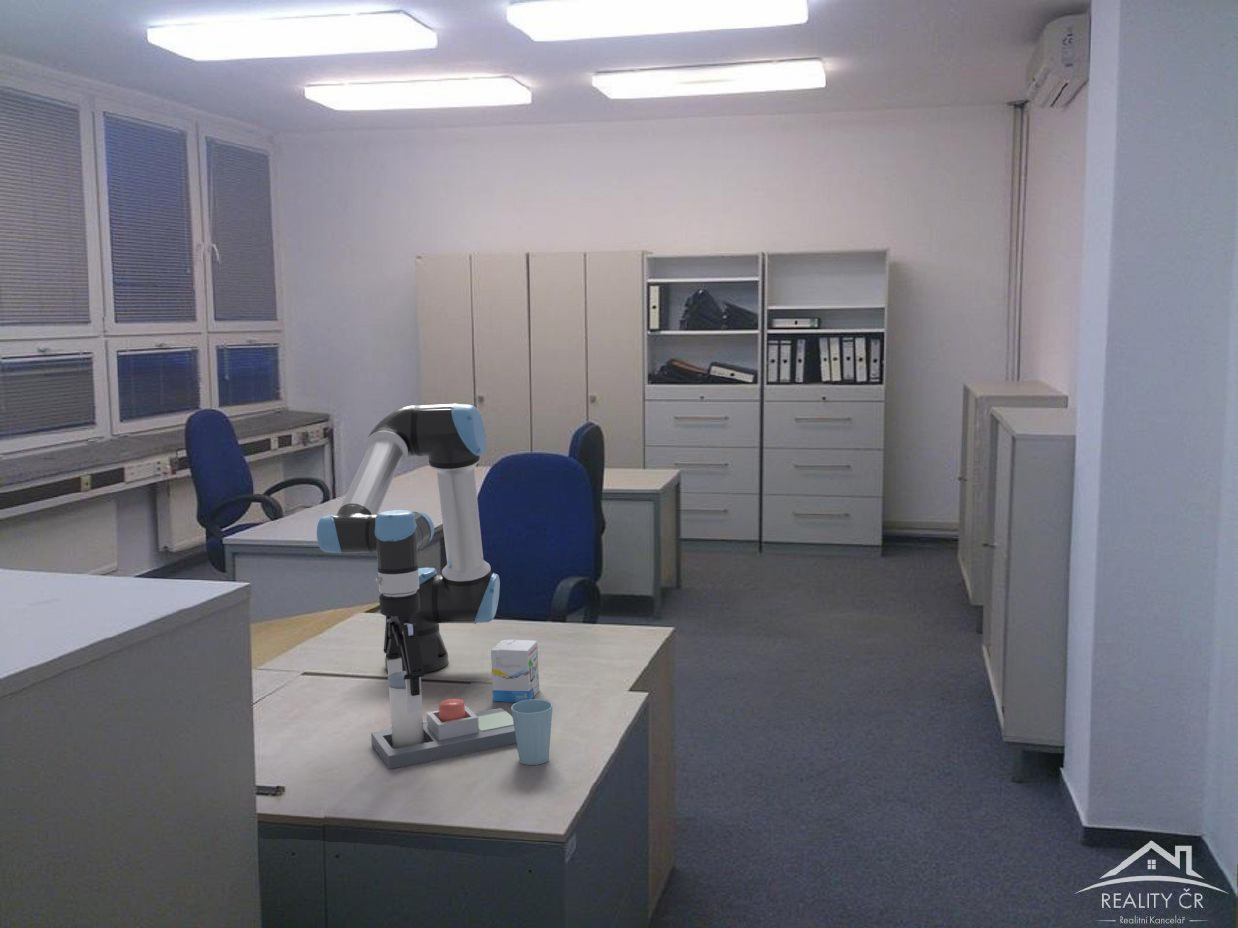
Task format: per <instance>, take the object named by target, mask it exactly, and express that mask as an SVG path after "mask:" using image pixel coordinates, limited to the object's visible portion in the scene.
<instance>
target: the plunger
mask: <svg viewBox="0 0 1238 928" xmlns="http://www.w3.org/2000/svg"><path fill="white" fill-rule="evenodd" d="M438 710H439V719H440V721H441V722H447V721H452V720H457V719H463V718H465V700H464V699H462V698H461V699H459V698H447V699H443V700H441V701H440V702H439V703H438Z"/></svg>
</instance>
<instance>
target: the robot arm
mask: <svg viewBox="0 0 1238 928" xmlns="http://www.w3.org/2000/svg"><path fill="white" fill-rule="evenodd" d="M486 435H487V433H486V429H485V424H484V420H483V418H482V415H481V413H480V411H479V410H478V408H477V407H476V406H474V405H472V404H464V403H463V404H462V403H449V404H448V403H447V404H446V403H445V404H443V403H442V404H425V405H417V404H416V405H415V404H413V405H411V404H410V405H407V406H402V407H400V408H398V409H396V410H394V411H393V412H391V413H389V414H388V415H386V416H385V417H383V419H381V420H380V421H379V422H378V423H377V424H376V425H375V426H374V427H373V429H372V430H371V432H370V433H369V434H368V437H367V439H366V441H365V444H364V445H365V446H364V449H365V454H364V456H363V458H362V461H361V463H360V465H359V467H358V469H357V470H356V471H357V472H356V474H355V475H354V477H353V480H352V482H351V484H350V486H349V488H348V489H347V492H346V494H345V496H344V498H343V500H342V503H341V505H340V507H339V509H338V511H337V513H336V514H330V515H323V516H321V517H320V518H319V520H318V522H317V527H316V540H317V541H316V542H317V544H318V547H319V549H320V550H321V551H322V552H324V553H329V554H330V553H333V554H361V553H362V554H364V553H376V561H377V564H376V565H377V575H378V576H377V577H376V578H375V583H377V584H378V590H379V593H381V594H380V595H379V597H378V598H379V601H378V602H379V613H380V614H381V615H383V616H385V625H384V626H385V631H384V643H383V653H384V654H385V657H384V667H385V670H386V671H387V677H388V676H389V675H390V674H393V673H396V672H400V671H406V674H407V675H404V678H403V679H404V680H405V681H406V699H407V712H408V713H410V712H416V711H422V712H423V696H422V695H423V694H422V677H424V676H425V673H431V672H435V671H438V670H441V669H442V668H445V667H446V666H448V664H449V654H448V650H447V648H446V645H445V643H444V640H443V638H442V635H441V632H440V624H474V625H476V624H480V623H481V624H482V623H489V622H492V620H493V619H494V618H495V616H496V614H497V609H498V604H499V599H500V587H501V586H500V585H501V582H500V581H501V580H500V576H499V575H498V574H497V573H495V572H492V568H491V565H490V563H489V562H487V561H486V560H484V552H483V542H482V534H481V533H482V532H481V524H480V523H481V522H480V512H479V503H478V502H479V500H478V493H477V483H476V475H475V473H476V472H475V467H476V465H478V464H479V462H480V461H481V457H480V456H481V455H483V454H484V453H486V452H485V451H486V447H487V441H486ZM411 457H428V465H429V467H430V468H431V469H433V470H435V472H436V476H437V485H438V492H439V493H438V494H439V502H440V503H439V504H440V512H441V513H440V514H441V520H442V530H443V538H444V539H443V540H444V548H445V554H446V555H445V556H446V565H445V566H443V568H442V570H441V574H438V571H437V570H436V568H434V567H420V568H419V566H418V565H419V563H418V562H419V561H418V552H419V551H421V550H422V549H424V548H426V547H427V546H428V544H429V543H430V542H431V541H432V539H433V537H434V534H435V525H434V522H433V520H432V518H431V517H430V516H429V515H428V514H427V513H425V512H423V511H419V510H412V511H411V510H409V509H408V510H407V509H392V510H385V511H381V512H380V509H381V507H382V505H383V503H384V500H385V498H386V496H387V493H388V491H389V489H390V486H391V484H392V481H393V479H394V477H395V475H396V472H397V470H398V468H399V466H401V465H403V464H404V463H405V461H406V460H407V458H411Z"/></svg>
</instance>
